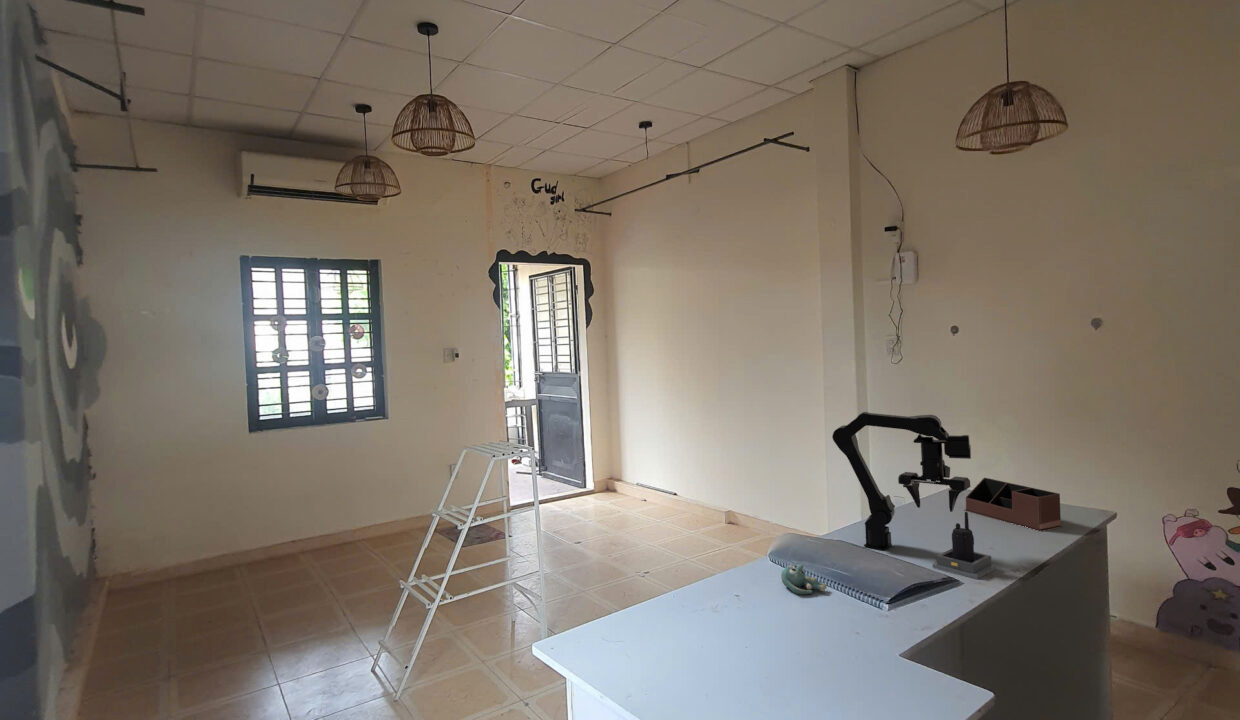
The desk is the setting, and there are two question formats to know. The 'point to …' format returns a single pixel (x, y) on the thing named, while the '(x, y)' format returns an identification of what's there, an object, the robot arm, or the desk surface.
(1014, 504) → the desk organizer
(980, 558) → the charging cradle
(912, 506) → the desk surface
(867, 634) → the desk surface
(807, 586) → the stuffed animal
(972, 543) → the two-way radio
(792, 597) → the desk surface
